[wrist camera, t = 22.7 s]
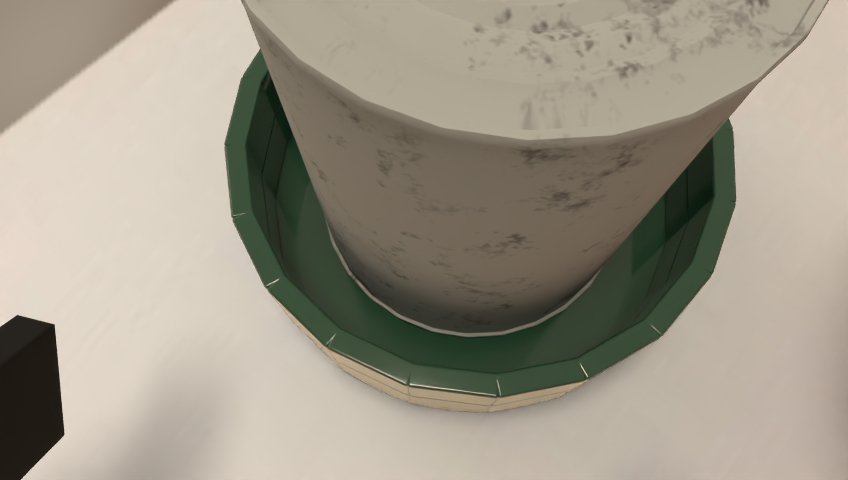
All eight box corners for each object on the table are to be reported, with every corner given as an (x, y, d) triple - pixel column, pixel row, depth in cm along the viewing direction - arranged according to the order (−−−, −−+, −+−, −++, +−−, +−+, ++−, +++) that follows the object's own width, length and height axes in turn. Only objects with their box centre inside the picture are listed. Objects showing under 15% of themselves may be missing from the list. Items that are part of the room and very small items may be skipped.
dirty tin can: (344, 363, 19) (227, 198, 8) (308, 90, 23) (187, -314, 11) (654, 309, 20) (971, 80, 8) (576, 50, 23) (728, -374, 12)
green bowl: (223, 382, 20) (168, 356, 16) (306, 14, 25) (281, -81, 20) (676, 440, 19) (746, 430, 15) (674, 52, 24) (727, -38, 20)
